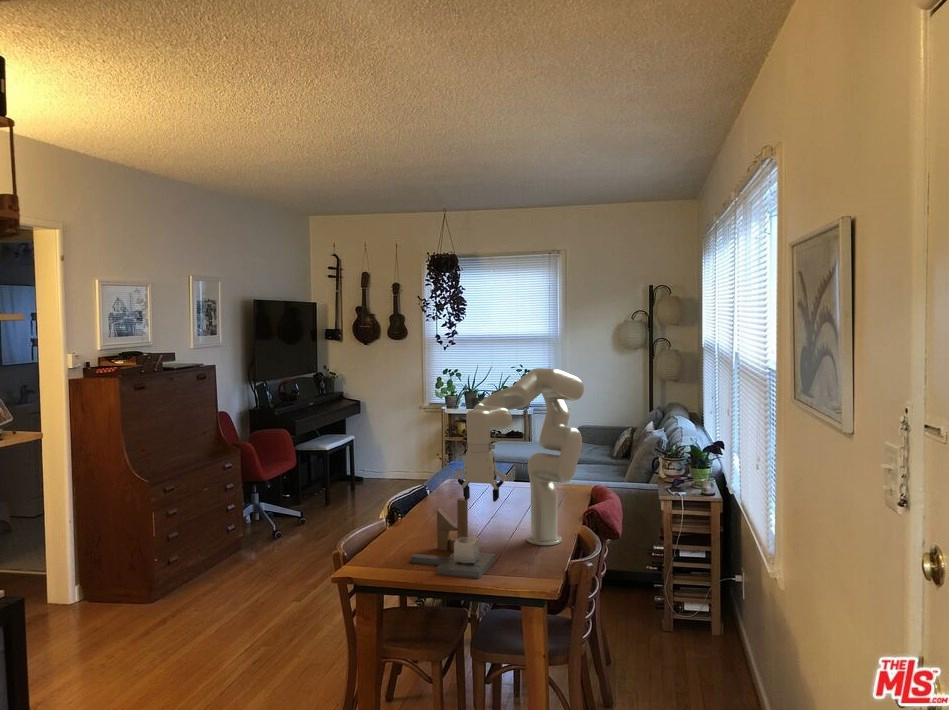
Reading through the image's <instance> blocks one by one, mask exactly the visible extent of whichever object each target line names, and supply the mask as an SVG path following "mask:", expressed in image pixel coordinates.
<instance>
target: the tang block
mask: <svg viewBox="0 0 949 710" xmlns="http://www.w3.org/2000/svg"><path fill="white" fill-rule="evenodd" d="M496 555H497V554H496V553H489V552H482V551H481V552H480V551H479V558H478V559H477V560H476V561H475V562H474V563H468V562H458V561H454V551H452V553H451V554H449V556H441V555H440V556H439V555H432V554H431V555H430V554H420V553H414V554H412V555H410V563H412V564H418V565H419V564H421V565H422V564H423V565H431V566H437V567H436V571H435V572H436V575H443V576H450V577H452V576H453V577H461V578H471V579H479V580H480V578H481V577H482V576H483V575H484V574H485V573H486V572H487V570H488V569H489V568H490V567H491V566H492V564H493V563H494V562H495V561H496Z"/></svg>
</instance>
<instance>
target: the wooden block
mask: <svg viewBox="0 0 949 710" xmlns="http://www.w3.org/2000/svg"><path fill="white" fill-rule="evenodd" d="M468 501H469V499H468V500H465V497H460V498H457V499H456V504H457V505H456V508H457V509H456V510H457V511H456V514H457V516H456V519H457V522H456V523H457V524H456V523H455V522H454V520H453V519H452V518H451V517H450V516H449V515H448V514H447V513H446V512H445V511H444V510H443V509H442V507H438V508H437V509H436V522H437V523H436V529H437V530H436V532H437V533H436V535H437V538H436V540H437V544H436V545H437V546H436V547H437V548H436V549H437V551H442V552H443V551H448V550H449V551H452V552H454V542H455V541H456V540H457V539H459V538H460V537H469V528H468V527H469V525H468V523H469V517H468V516H469V515H468V513H469V512H468V509H469V508H468ZM456 531H457V537H450V532H456Z"/></svg>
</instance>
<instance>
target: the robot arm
mask: <svg viewBox="0 0 949 710" xmlns="http://www.w3.org/2000/svg"><path fill="white" fill-rule="evenodd" d="M584 391H585V386H584V383H583V381H582V380H581V379H580V378H579V377H578V376H575V375H574V374H570V373H568V372H566V371H564V370H561V369H558V368H545V367H544V368H543V367H541V368H540V367H539V368H538V367H536V368H533V369H530V370H529V371H528V372H527V373H525V375H523V376H522V377H521V378H519V379H518V380H517V381H516V382H515V383H513V384H512V385H511V386H509V387H506V388H504V389H501V390H499V391H496V392H494V393H492V394H489V395H487V396H486V397H484V398H483V399H482V400H481V401H480V402H478V403H477V404H476V405H475V406H473V409H471V410H468V411H467V412H466V416H465V417H466V420H465V421H466V436H467V437H466V440H467V443H466V444H467V450H466V452H465V456H464V468H463V469H461V470H458V471H457V472H456V473H455V474H454V477H455V478H456V480H457V483H458V484H459V485H460V486H461V488H462V494H463V498H465V500H468V501H469V499H470V497H471V495H470V494H471V492H470V491H471V490H470V484H489V485H491V487H492V488H493V489H492V502H494V503H496V502H497V501H498V499H500V488H501V487H502V485H503V484H504V483H505V480H506V479H507V474H505V473H503V472H501V471H499V470H498V469H497V462H496V455H495V451H494V449H496V445H495V444H493V443H492V441H491V439H492V438H491V431H501V430H504V429H506V428H508V427H509V426H510V425H511V423H512V421H513V420H512V419H513V417H512V413H511V410H518V409H522V408H525V407H527V406H528V405H529V404H531V403H532V402H533V401H534V400H535V399H537V397H538V396H540V395H542V398H543V399H544V402H545V406H546V413H545V416H544V417H545V418H544V421H543V425H542V428H541V432H540V435H539V441H538V443H539V446H540V447H541V448H542V449H543V450H545V451H549V452H556V453H559V455H558V454H554V453H546V452H538V453H534V454H533V455H531V456H530V457H529V459H528V462H527V471H528V477H529V484H530V485H529V486H530V533H529V534H528V535H526V541H527V542H528V543H530V544H532V545H537V546H554V545H558V544H560V543H561V542H562V541H563V539H562V536H561V534H558V491H557V487H556V485H555V483H558V484H568V483H570V482H571V481H572V480H573V479H574V476H575V473H576V469H577V466H578V462H579V459H580V454H581V451H582V446H583V437H582V434H581V431H580V430H579V429H578V428H576V427H573V426H568V424H569V420H570V411H569V408H568V405H567V404H566V402H565V401H571V402H573V401H577V400H580V399H581V398H582V397H583V395H584ZM461 475H463V476H464V477H463V478H464V479H463V478H462V476H461ZM498 477H499V478H500V480H499V482H498V481H497V479H498Z"/></svg>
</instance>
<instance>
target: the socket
mask: <svg viewBox="0 0 949 710" xmlns="http://www.w3.org/2000/svg"><path fill="white" fill-rule="evenodd" d="M453 552H454V561H458V562H468V563H474V562H475V561H476V560H477V559H478V558H479V552H480V538H478V537H469V536H468V537H460V538H459V539H457V540H456V541H455V542H454V551H453Z"/></svg>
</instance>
